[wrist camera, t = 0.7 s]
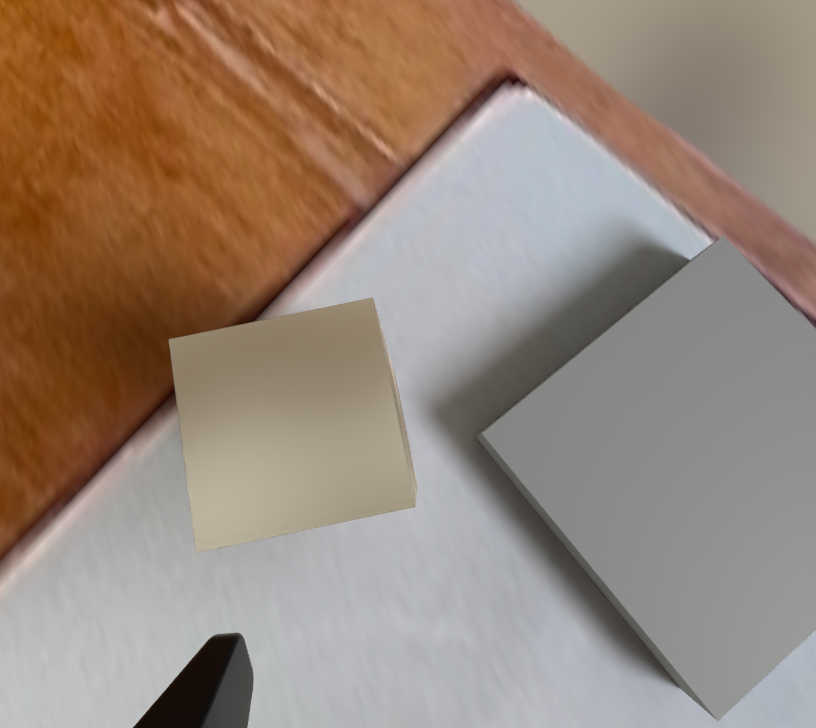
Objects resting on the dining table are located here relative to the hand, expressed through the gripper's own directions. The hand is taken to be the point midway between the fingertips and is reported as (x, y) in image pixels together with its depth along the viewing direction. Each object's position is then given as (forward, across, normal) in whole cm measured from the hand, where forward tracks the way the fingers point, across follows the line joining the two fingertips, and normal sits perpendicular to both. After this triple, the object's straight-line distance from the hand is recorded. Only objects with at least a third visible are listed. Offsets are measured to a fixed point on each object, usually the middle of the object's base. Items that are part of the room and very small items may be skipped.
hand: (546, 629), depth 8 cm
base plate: (+12, -9, +6) cm, 17 cm away
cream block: (+13, +4, +5) cm, 15 cm away
